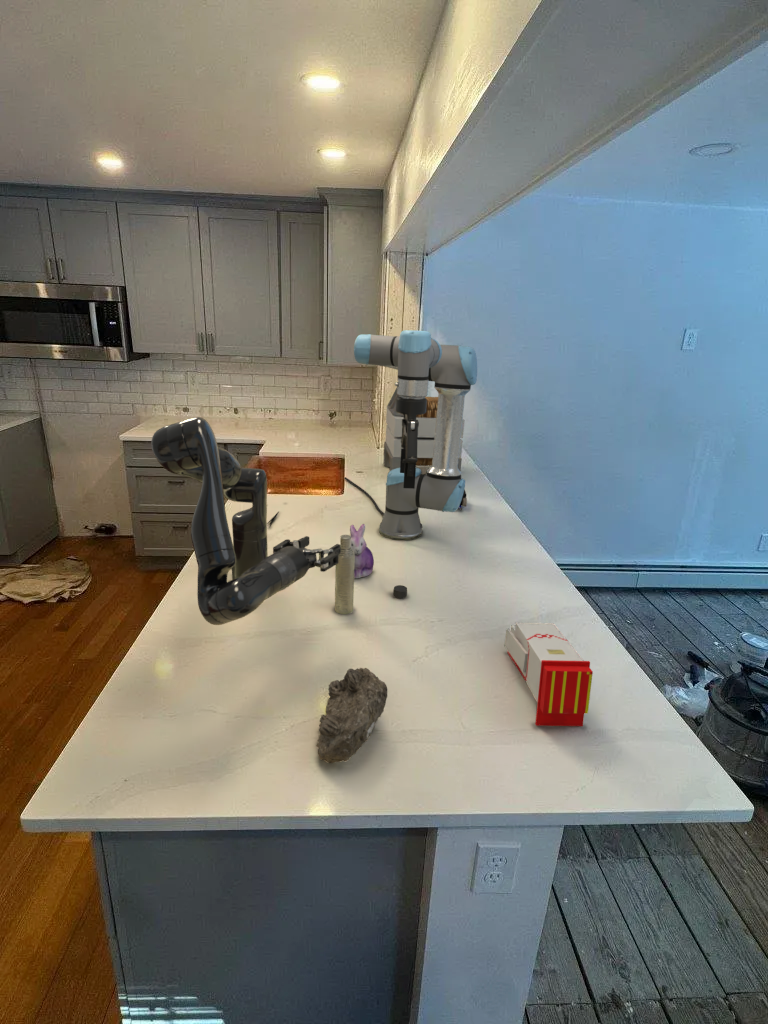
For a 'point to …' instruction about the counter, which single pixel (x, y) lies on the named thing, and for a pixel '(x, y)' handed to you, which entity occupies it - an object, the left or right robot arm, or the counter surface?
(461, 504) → the figurine character
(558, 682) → the toy
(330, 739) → the fossil
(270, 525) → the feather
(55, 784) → the counter surface
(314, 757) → the counter surface
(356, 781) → the counter surface
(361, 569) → the figurine
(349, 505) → the counter surface
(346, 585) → the bottle
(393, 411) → the grey wooden crate
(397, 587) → the cap
